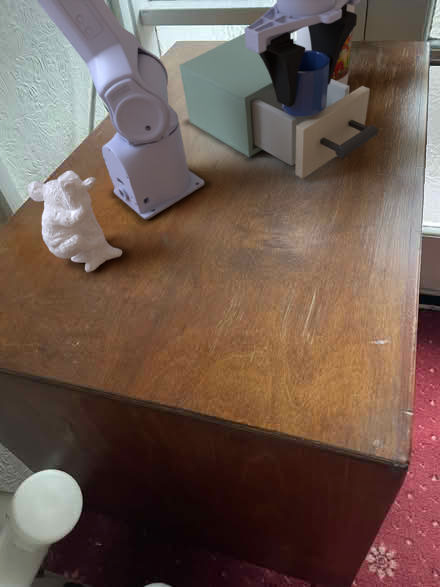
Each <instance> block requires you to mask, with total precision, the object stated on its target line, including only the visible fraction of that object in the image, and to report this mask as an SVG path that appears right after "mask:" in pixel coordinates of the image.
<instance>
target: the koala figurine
mask: <svg viewBox="0 0 440 587" xmlns="http://www.w3.org/2000/svg"><path fill="white" fill-rule="evenodd" d="M96 182H97V178H96V177H94V176H89V177H88V178H86V179H83V180H82V179H81V176H80V175H79V174H78V173H76V172H75V171H73V170H67V171H65V172H64V173H61V175H59V176H58V177H57V179H51V180H49V181H47V182H46V183H44V182H42V181H39V180H34V181H31V182H30V183H29V184H28V186H27V192H28V195H29V198H31V199H32V201H34V202H43V201H44V202H43V207H44V209H43V212H42V215H41V235H42V239H43V242H44V243H45V246H47V248H48V250H49V251H50V253H51V254H53V255H54V256H56V257H57V258H60V259H62V260H67V259H69V260H71V261H72V262H74V263H79V264H84V270H85V272H86V273H91V272H93V271H95V270H96V269H97V268H99V266H100V265H102V264H103V263H105V262H106V261H109V260H112V259H116V258H120V257H121V256H122V254H123V250H122V249H120V248H117V247H113V246H111V245H110V244H109V243H108V240H107V239H106V237H105V234H104V231H103V229H102V227H101V225H100V223H99V222H98V219H97V218H96V216H95V213H94V211H93V208H94V207H92V202H93V201H92V198H91V194H90V193H89V192H88V191H89V190H90V189H92V188H93V186H94V185H95V183H96Z"/></svg>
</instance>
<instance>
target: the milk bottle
mask: <svg viewBox="0 0 440 587" xmlns="http://www.w3.org/2000/svg"><path fill="white" fill-rule="evenodd" d="M355 7H356V5H350V4H349V5H347V11H349V12H352V13H355V9H356V8H355ZM353 32H354V29H353V30H352V31H351V33H350V35H349V36H348V38H347V40H346V42H345V44H344V46H343V48H342V50H341V53H340V55H339V58H338V61H337V63H336V66H335V70H334V73H333V76H332V79H333V80H335V81H338V82H340V83H343V84H345V85H348V83H349V82H348V81H349V73H350V65H351V64H350V63H351V52H352V45H353V44H352V42H353V34H354V33H353ZM296 44H297V45H300V46H303V47H305V48H306V49H305V50H311V40H310V34H309V29H308V26H307V27H303V28H301V29H299V30H297V31H296Z"/></svg>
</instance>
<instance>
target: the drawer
mask: <svg viewBox="0 0 440 587" xmlns="http://www.w3.org/2000/svg"><path fill="white" fill-rule="evenodd" d="M370 90H371V89H370V88H369V87H366V86H364V85H361V86H360V87H357V89H355V90H353V91H352V92H350V85H348V84H347V85H345V84H343V83H340V82H338V81H335V80H333V79H331V82H330V84H329V85H328V95H327V105H326V107H325V109H324V110H323V111H321V112H320V113H318V114H315V115H311V116H304V117H300V116H293V115H290V114H288V113H286V112H285V111H284V110H283V109H282V105H281V103H279V102H278V101H277V97H276V94H275V90H274V88H272V89H271V90H269V91H267V92H265V93H263V94H262V95H260V96H258V97H256V98H254V99H253V100H251V101H250V110H251V125H252V140H253V144H254V145H256V146H258V147H259V148H261V149H262V151H265V152H266V153H268V154H270V155H272V156H273V157H275V158H277V159H279V160H281V161H282V162H284V163H286V164H288V165H289V166H291V167H292V166H294V165H295V174H294V175H295V176H297V177H298V178H300V179H304V178H305V177H307V176H308V175H310V174H312V173H313V172H314V171H316V170H317V169H320V168H321V167H322V166H323V165H325V164H327V163H328V162H330V161H331V160H332V159H334V158H336V157H338V158H339V159H343V158H345V157H346V156H349V154H351V153H353V152H354V151H355V150H357V149H358V148H359V147H361V146H363V145H364V144H366V143H367V142H369V141H371V140H372V139H373V138H375V137H376V136H377V135H378V134H379V128H378V127H377V126H376V125H375V124H370V125H366V119H367V113H368V106H369V98H370Z"/></svg>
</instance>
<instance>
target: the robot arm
mask: <svg viewBox="0 0 440 587" xmlns="http://www.w3.org/2000/svg"><path fill="white" fill-rule="evenodd" d="M36 2H37V3H38V4H39V6H40V7H41V8H42V10H43V11H44V12H45V14H47V16H48V17H49V18H50V20H51V21H52V22H53V23H54V25H55V26H56V27H57V28H58V30H59V31H60V32H61V34H62V35H63V36H64V37H65V38H66V40H67V41H68V42H69V44H70V45H71V47H72V48H73V49H74V50H75V51H76V53H77V54H78V55H79V57H80V58H81V59H82V60H83V61H84V63H85V64H86V67H87V68H88V72H89V74H90V76H91V79H92V82H93V85H94V88H95V90H96V93H97V95H98V97H99V98H100V99H101V100H102V102H103V103H104V104H105V105H106V107H107V110H108V113H109V117H110V122H111V124H112V126H113V128H114V130H115V132H116V133H115V134H114V135H113V137H112V138H111V139H110V140H109V141H108V142H106V143H105V144H104V145H103V146H102V148H101V155H102V157H103V160H104V163H105V166H106V169H107V172H108V174H109V177H110V179H111V182H112V185H113V188H114V189H113V194H115V195H116V196H117V197H118V198H119V199H120V200H122V201H123V202H124V203H125V204H126V205H127V206H129V207H130V208H131V209H132V210H133V211H134V212H135V213H136V214H138V215H139V216H140V217H141V218H143V219H144V220H149V219H151V218H153V217H154V216H156V215H158V214H159V213H161V212H162V211H164V210H165V209H167V208H169V207H171V206H173V205H174V204H175V203H177V202H179V201H181V200H182V199H184V198H186V197H187V196H189V195H190V194H192V193H193V192H195V191H197V190H199V189H200V188H201V187H203V186H204V185H205V180H204V179H202V178H201V177H199V176H198V175H197V174H195V173H194V172H192V171H191V170H189V165H188V160H187V156H186V150H185V146H184V142H183V141H184V140H183V136H182V131H181V125H180V122H179V121H180V120H179V116H178V113H177V112H176V110H175V109H174V108H173V107H172V106H171V105H170V104H169V97H168V96H169V95H168V94H169V93H168V86H169V85H168V84H169V83H168V82H169V76H168V71H167V68H166V66H165V64H164V63H163V61H162V60H161V59H160V58H159V57H158V56H157V55H156V54H154V53H152V52H151V51H149V50H147V49H146V48H145V47H144V46H142V44H141V43H140V41H139V40H138V38H137V37H136V36H135V35H134V34H133V33H132V32H131V31H129V30H128V29H125V28H124V27H123V26H122V25H121V23H120V22H119V20H118V18H117V17H116V16H115V14H114V13H113V11H112V10H111V8H110V7H109V6H108V3H107V2H106V1H105V0H36ZM360 3H361V0H276V3H275V4H274V5H273V6H271V7H270V8H269V9H268V10H267V11H266V12H265V13H264V14H262V15H261V16H260V17H259V18H258V19H257V20H255V21H254V22H253V23H251V24H250V25H247V26H246V27H244V33H245V41H246V48H247V49H249V50H251V51H253V52H256V53H258V54H259V55H260V57H261V58H262V60H263V62H264V64H265V66H266V68H267V70H268V72H269V75H270V77H271V80H272V83H273V86H274V90H275V94H276V97H277V101H278V102H279V103H281V104H283V105H285V106H288V107H291V106H293V105H294V103H295V99H296V88H297V76H298V70H299V66H300V62H301V59H302V56H303V54H304V51H305V49H306V48H305V47H303V46H300V45H297V43H295V39H294V38H292V37H291V36H292V34H293V33H295V32H297V30H299V29H301V28H303V27H307V26H308V29H309V34H310V40H311V50H313V51H319V52H322V53H325V54H326V55H327V56H328V57H329V58H330V66H329V80H328V85H329V84H330V82H331V79H332V76H333V73H334V70H335V66H336V63H337V61H338V58H339V55H340V53H341V50H342V48H343V46H344V44H345V42H346V40H347V38H348V36H349V35H350V33H351V31H352V30H353V31H354V28H355V27H356V26H357V21H358V15H357V13H355V12H354V13H352V12H349V11H347V5H349V4H350V5H355V6H356V5H358V4H360Z"/></svg>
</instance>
